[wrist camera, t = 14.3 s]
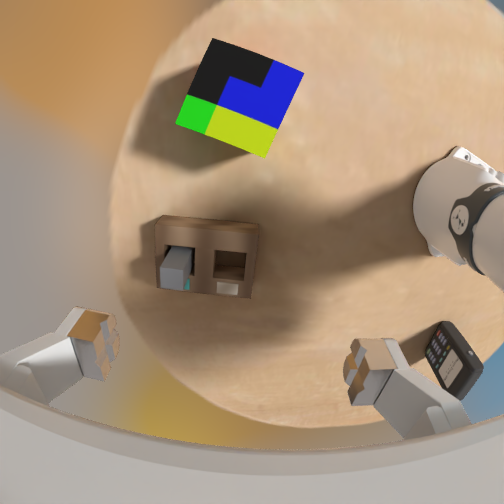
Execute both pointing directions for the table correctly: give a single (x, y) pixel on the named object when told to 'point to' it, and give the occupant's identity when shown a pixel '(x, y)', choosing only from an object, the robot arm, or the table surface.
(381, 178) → the table surface
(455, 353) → the card reader
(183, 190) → the table surface
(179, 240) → the socket block
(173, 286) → the plug
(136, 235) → the table surface
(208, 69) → the puzzle toy
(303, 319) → the table surface
